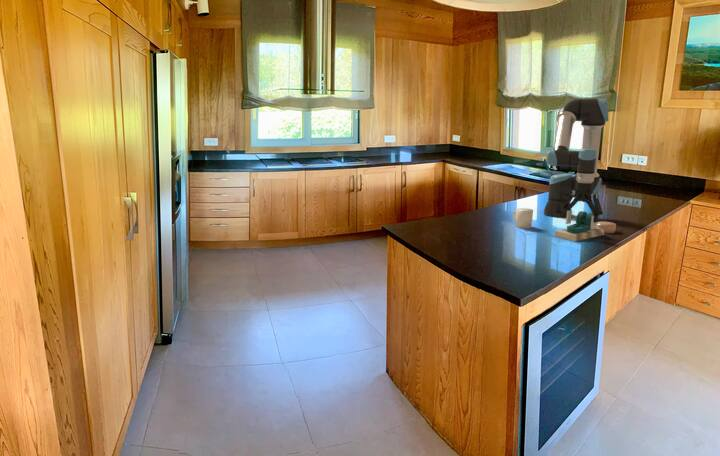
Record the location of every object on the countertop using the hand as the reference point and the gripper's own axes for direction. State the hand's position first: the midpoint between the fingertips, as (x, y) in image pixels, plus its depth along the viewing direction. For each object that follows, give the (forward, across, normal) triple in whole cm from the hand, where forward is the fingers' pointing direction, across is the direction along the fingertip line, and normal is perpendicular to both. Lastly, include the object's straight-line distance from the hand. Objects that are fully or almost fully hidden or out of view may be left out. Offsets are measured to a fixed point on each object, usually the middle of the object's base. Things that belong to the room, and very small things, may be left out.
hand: (580, 226), depth 240 cm
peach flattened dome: (+5, +1, +19) cm, 20 cm away
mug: (+5, -28, -8) cm, 30 cm away
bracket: (+2, 0, 0) cm, 2 cm away
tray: (+5, 0, 0) cm, 5 cm away
